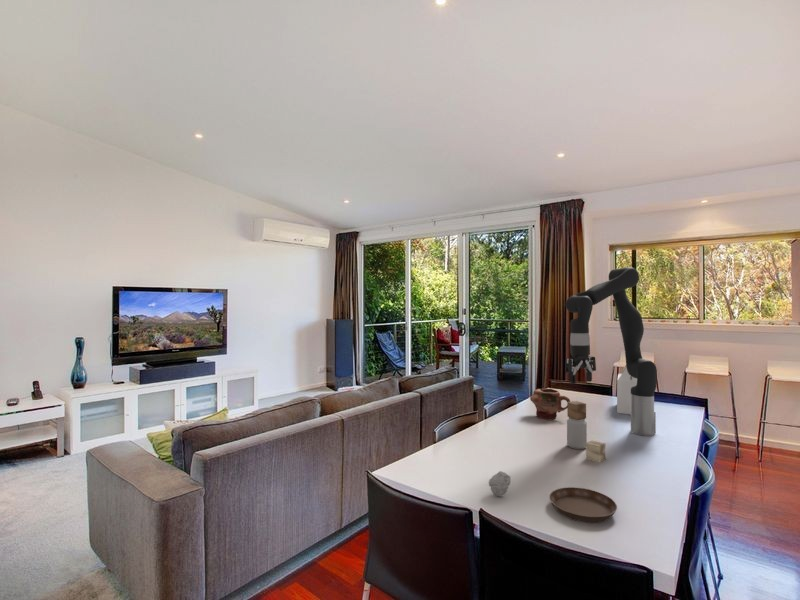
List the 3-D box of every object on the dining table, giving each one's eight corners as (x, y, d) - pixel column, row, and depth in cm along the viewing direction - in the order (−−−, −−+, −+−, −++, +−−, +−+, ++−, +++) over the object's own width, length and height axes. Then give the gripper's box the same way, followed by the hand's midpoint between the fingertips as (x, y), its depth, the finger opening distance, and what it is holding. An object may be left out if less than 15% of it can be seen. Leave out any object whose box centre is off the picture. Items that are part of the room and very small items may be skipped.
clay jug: (572, 417, 217) (572, 390, 217) (569, 423, 206) (568, 394, 206) (532, 412, 227) (532, 386, 227) (527, 417, 216) (527, 390, 216)
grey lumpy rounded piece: (515, 497, 128) (515, 474, 128) (495, 501, 126) (495, 478, 126) (503, 489, 134) (503, 467, 134) (484, 492, 132) (484, 470, 132)
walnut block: (577, 415, 176) (577, 400, 176) (586, 418, 172) (586, 403, 172) (567, 416, 175) (567, 401, 175) (576, 419, 170) (576, 404, 170)
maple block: (592, 455, 163) (592, 440, 163) (605, 459, 160) (605, 443, 160) (586, 458, 160) (586, 442, 160) (599, 462, 156) (599, 446, 156)
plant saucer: (548, 520, 116) (548, 509, 116) (550, 492, 132) (550, 483, 132) (621, 532, 110) (621, 521, 110) (613, 502, 126) (613, 492, 126)
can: (588, 450, 169) (588, 420, 169) (568, 449, 170) (568, 419, 170) (584, 444, 176) (584, 415, 176) (565, 443, 178) (565, 414, 178)
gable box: (618, 404, 244) (618, 355, 244) (644, 406, 238) (644, 357, 238) (617, 413, 225) (616, 360, 225) (645, 416, 219) (645, 362, 219)
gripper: (586, 341, 183) (587, 379, 183) (560, 344, 178) (561, 382, 178) (600, 343, 176) (601, 382, 176) (573, 345, 171) (574, 385, 171)
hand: (581, 382), depth 177 cm, fingers open, 8 cm apart
